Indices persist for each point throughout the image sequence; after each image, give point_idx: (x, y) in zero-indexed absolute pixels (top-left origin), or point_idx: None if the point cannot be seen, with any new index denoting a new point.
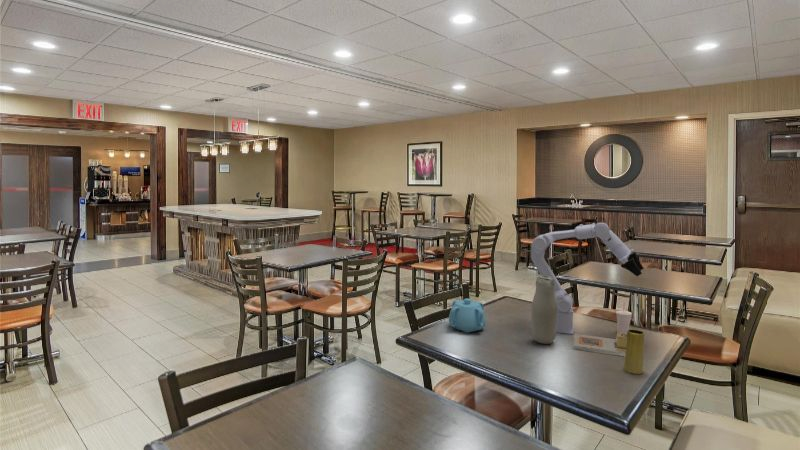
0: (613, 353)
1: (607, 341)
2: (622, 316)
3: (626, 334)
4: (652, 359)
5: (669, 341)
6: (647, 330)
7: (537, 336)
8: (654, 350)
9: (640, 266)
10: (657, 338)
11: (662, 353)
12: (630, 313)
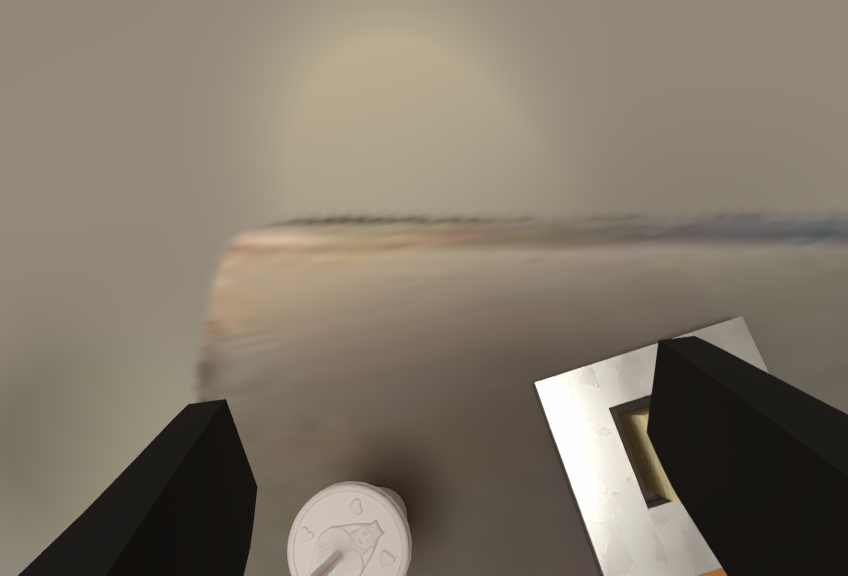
0: None
1: (667, 547)
2: (411, 542)
3: None
4: (693, 282)
5: (338, 273)
6: None
7: None
8: (544, 303)
9: (203, 476)
10: (327, 332)
11: (560, 263)
12: (335, 499)
